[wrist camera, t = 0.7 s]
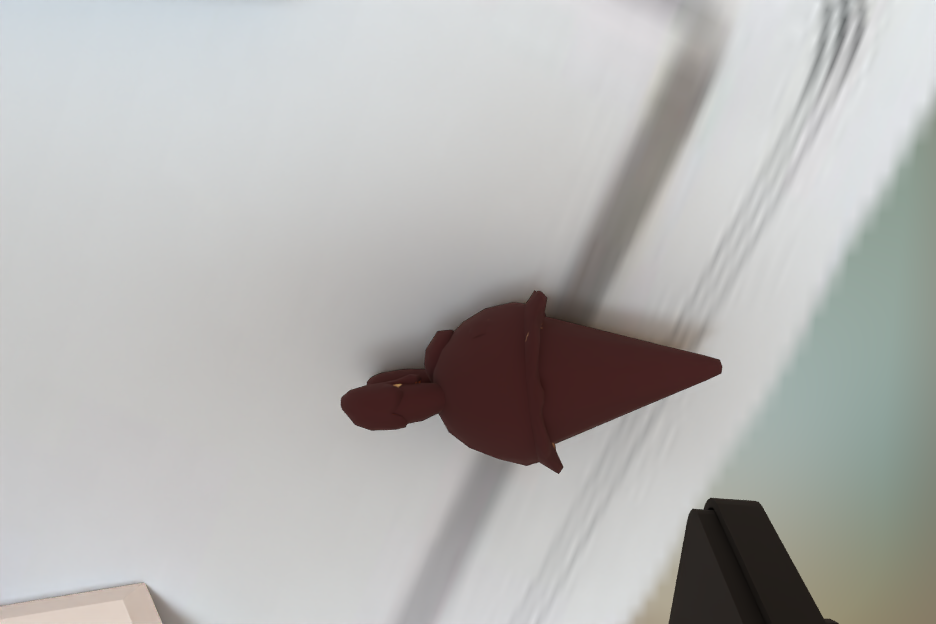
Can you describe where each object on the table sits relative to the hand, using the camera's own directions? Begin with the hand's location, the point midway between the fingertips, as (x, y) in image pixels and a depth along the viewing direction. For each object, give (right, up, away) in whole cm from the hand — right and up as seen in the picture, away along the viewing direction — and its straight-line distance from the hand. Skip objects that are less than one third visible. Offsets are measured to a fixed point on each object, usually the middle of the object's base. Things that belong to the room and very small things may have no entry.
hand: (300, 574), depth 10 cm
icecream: (+5, +2, +28) cm, 28 cm away
